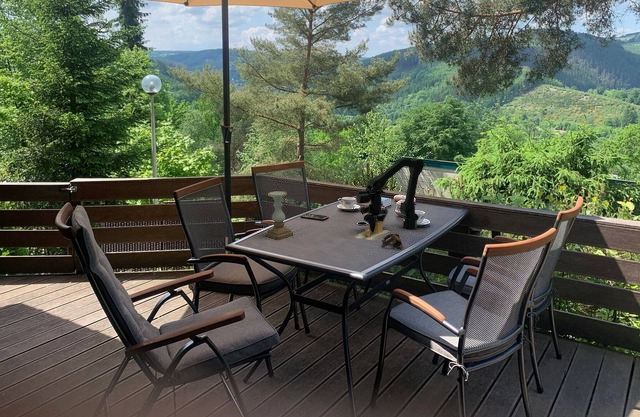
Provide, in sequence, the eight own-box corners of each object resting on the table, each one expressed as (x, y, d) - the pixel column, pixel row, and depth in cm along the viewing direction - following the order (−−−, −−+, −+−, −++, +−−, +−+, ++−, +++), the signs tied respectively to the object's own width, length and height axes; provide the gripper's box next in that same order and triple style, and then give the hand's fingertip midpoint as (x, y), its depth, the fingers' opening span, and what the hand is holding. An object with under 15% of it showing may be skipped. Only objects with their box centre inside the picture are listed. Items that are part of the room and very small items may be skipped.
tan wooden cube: (382, 231, 263) (382, 221, 262) (378, 233, 259) (378, 223, 258) (373, 229, 266) (373, 220, 265) (369, 232, 262) (369, 222, 260)
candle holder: (280, 232, 271) (278, 190, 265) (293, 235, 263) (291, 192, 258) (265, 236, 263) (262, 193, 258) (278, 240, 256) (275, 196, 250)
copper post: (371, 236, 255) (371, 228, 254) (369, 237, 252) (369, 230, 252) (366, 235, 256) (366, 228, 255) (364, 236, 254) (364, 229, 253)
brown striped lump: (402, 253, 232) (393, 239, 230) (385, 258, 237) (377, 245, 235) (408, 240, 241) (399, 226, 240) (392, 245, 247) (384, 232, 245)
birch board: (390, 232, 264) (390, 230, 263) (375, 242, 247) (375, 240, 247) (369, 229, 270) (369, 228, 270) (352, 239, 254) (352, 237, 253)
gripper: (369, 197, 270) (369, 224, 274) (354, 204, 255) (354, 232, 259) (388, 199, 265) (388, 226, 268) (373, 206, 249) (373, 235, 253)
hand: (376, 230), depth 262 cm, fingers open, 8 cm apart
